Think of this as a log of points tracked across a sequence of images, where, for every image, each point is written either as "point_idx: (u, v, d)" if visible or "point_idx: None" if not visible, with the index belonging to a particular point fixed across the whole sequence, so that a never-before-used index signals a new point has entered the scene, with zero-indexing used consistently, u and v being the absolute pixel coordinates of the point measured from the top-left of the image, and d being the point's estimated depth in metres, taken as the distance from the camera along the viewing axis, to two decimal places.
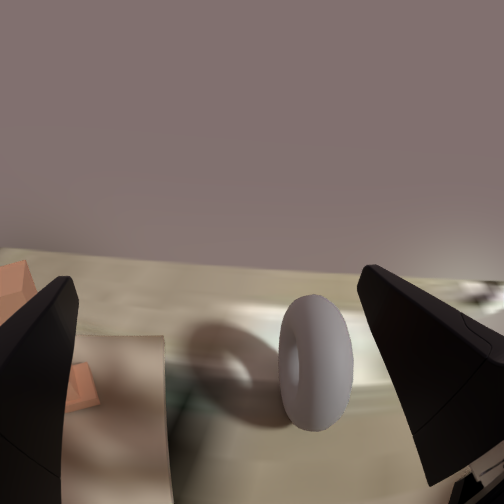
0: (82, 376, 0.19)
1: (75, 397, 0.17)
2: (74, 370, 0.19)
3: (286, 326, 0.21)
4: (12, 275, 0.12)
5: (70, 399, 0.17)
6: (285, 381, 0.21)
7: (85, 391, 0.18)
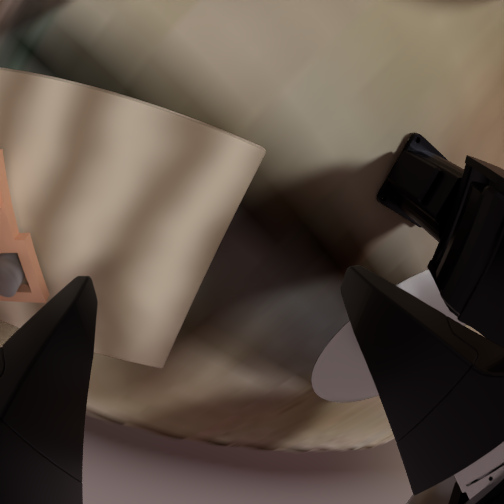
0: None
1: None
2: None
3: None
4: None
5: None
6: None
7: None
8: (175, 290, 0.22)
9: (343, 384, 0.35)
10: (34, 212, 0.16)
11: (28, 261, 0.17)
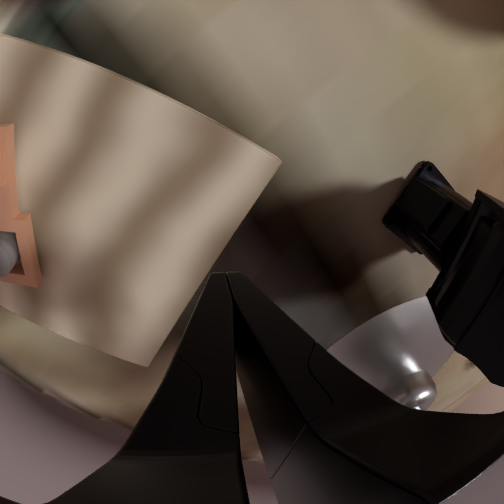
0: None
1: (0, 153, 0.12)
2: None
3: None
4: None
5: (2, 160, 0.13)
6: None
7: None
8: (171, 291, 0.22)
9: None
10: (38, 193, 0.16)
11: (25, 243, 0.16)
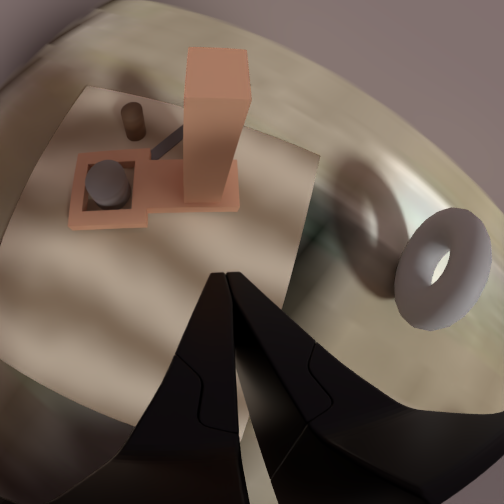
0: (228, 176, 0.20)
1: (216, 200, 0.19)
2: None
3: (443, 225, 0.19)
4: (228, 68, 0.10)
5: (207, 201, 0.20)
6: (409, 263, 0.22)
7: (228, 195, 0.20)
8: (79, 382, 0.17)
9: None
10: (167, 237, 0.20)
11: (119, 220, 0.18)
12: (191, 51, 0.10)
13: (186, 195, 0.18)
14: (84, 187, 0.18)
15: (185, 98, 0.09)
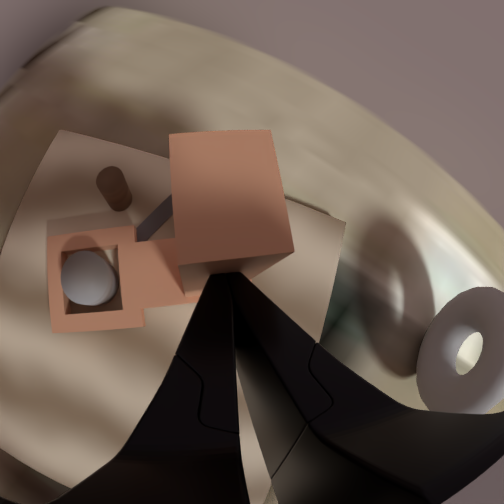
0: None
1: None
2: None
3: (479, 312, 0.15)
4: (246, 180, 0.06)
5: None
6: (435, 344, 0.18)
7: None
8: None
9: None
10: (166, 339, 0.16)
11: (111, 325, 0.15)
12: (175, 144, 0.06)
13: (188, 295, 0.14)
14: None
15: (180, 265, 0.06)
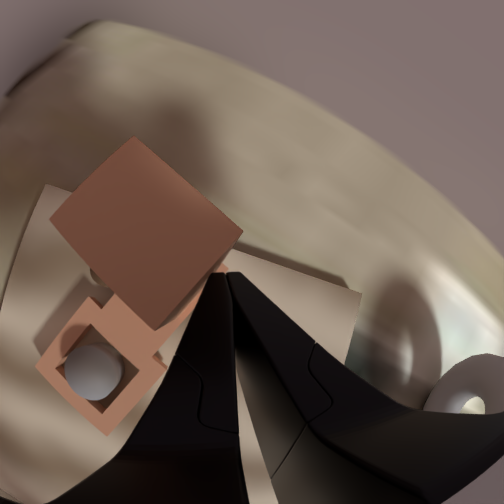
0: None
1: None
2: None
3: (485, 384, 0.14)
4: (147, 202, 0.05)
5: None
6: (439, 407, 0.17)
7: None
8: None
9: None
10: None
11: (142, 390, 0.14)
12: (61, 223, 0.05)
13: (179, 316, 0.14)
14: None
15: (156, 328, 0.05)
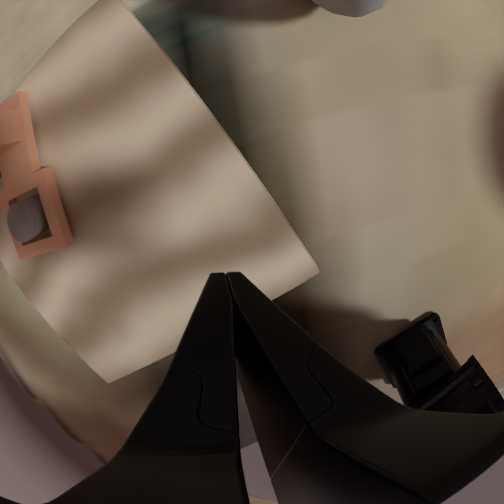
0: None
1: (15, 113, 0.13)
2: None
3: None
4: None
5: (18, 120, 0.14)
6: None
7: (12, 105, 0.13)
8: (168, 334, 0.22)
9: (251, 478, 0.31)
10: (90, 187, 0.17)
11: (47, 194, 0.16)
12: None
13: (10, 140, 0.13)
14: (37, 241, 0.17)
15: None
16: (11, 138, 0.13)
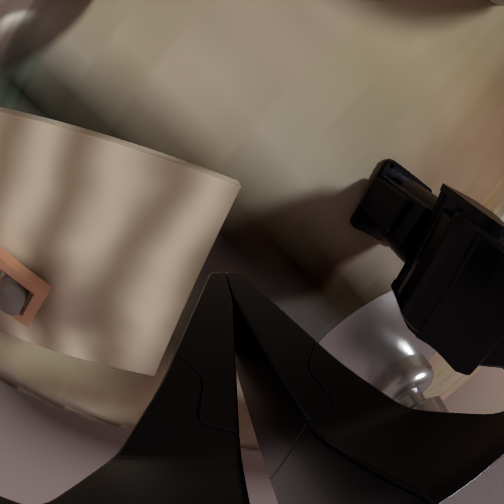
0: None
1: None
2: None
3: None
4: None
5: None
6: None
7: None
8: (163, 308, 0.24)
9: None
10: (34, 240, 0.18)
11: (10, 268, 0.17)
12: None
13: None
14: (28, 305, 0.20)
15: None
16: None
